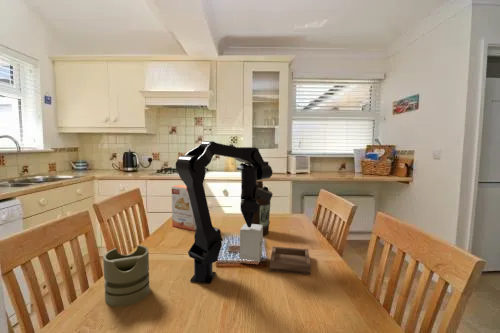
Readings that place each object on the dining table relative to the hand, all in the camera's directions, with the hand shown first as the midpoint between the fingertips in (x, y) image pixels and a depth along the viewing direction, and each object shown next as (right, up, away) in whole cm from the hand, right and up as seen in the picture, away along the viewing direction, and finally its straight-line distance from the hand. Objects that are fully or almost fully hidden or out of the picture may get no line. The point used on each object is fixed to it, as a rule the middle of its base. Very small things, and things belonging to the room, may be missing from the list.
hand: (249, 223), depth 96 cm
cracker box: (-32, -10, +34) cm, 48 cm away
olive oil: (+5, -11, +27) cm, 30 cm away
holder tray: (+15, -14, -4) cm, 20 cm away
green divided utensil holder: (-34, -15, -23) cm, 44 cm away
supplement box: (+1, -14, -1) cm, 14 cm away
